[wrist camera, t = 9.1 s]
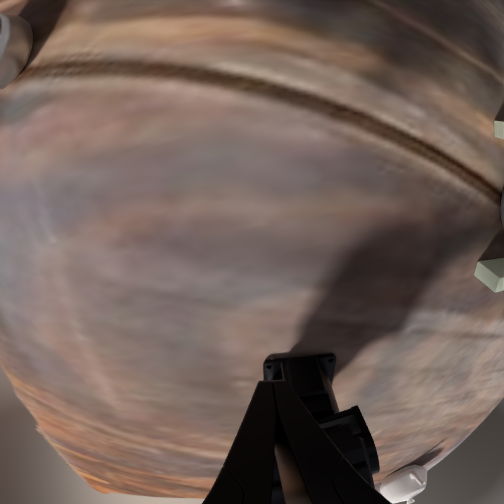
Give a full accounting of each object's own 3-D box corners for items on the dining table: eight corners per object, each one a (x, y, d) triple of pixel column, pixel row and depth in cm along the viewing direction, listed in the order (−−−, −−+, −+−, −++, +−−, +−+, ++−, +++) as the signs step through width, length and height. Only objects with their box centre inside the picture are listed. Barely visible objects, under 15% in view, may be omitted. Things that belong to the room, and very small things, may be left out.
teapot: (389, 466, 40) (401, 502, 31) (436, 447, 40) (450, 479, 31) (370, 490, 49) (377, 518, 39) (409, 476, 48) (418, 502, 39)
